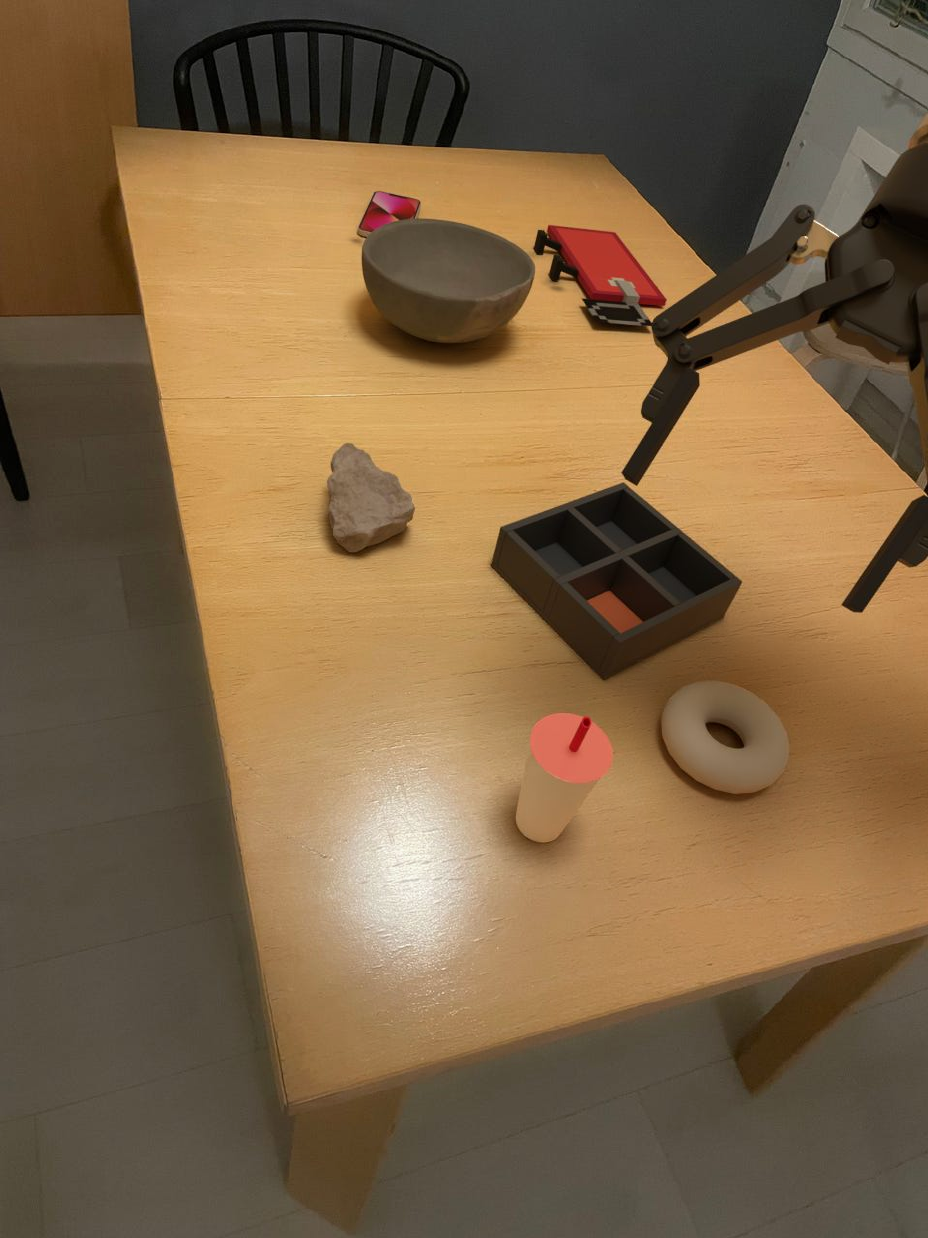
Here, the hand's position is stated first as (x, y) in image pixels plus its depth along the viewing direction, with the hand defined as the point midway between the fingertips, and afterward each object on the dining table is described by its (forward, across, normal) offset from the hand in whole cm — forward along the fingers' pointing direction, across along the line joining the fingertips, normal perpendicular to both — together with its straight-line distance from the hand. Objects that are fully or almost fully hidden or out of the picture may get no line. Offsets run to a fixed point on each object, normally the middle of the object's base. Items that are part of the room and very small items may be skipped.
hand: (736, 542), depth 48 cm
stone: (+14, +30, -26) cm, 41 cm away
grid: (+7, +8, -30) cm, 32 cm away
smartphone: (-20, +68, -72) cm, 101 cm away
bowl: (-8, +45, -54) cm, 71 cm away
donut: (+13, -7, -22) cm, 26 cm away
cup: (+23, +1, -11) cm, 25 cm away
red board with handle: (-28, +38, -78) cm, 91 cm away
